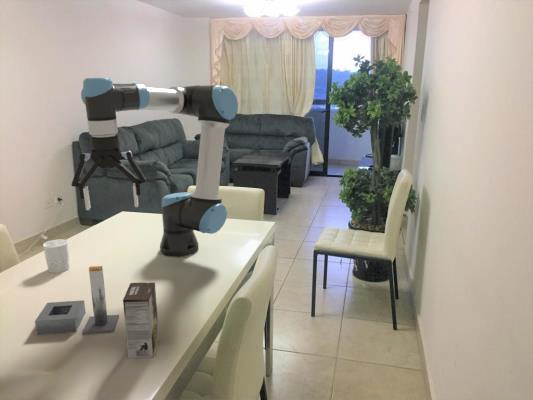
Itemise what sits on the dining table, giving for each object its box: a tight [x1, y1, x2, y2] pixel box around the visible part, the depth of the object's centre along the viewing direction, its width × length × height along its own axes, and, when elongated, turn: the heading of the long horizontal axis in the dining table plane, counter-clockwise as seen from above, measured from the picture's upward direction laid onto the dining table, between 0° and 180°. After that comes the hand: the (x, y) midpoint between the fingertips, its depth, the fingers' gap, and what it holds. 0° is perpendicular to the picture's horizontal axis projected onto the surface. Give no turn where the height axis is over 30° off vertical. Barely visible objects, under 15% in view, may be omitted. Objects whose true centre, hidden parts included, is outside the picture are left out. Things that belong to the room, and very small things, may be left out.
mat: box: [82, 314, 120, 335], centre depth 120 cm, size 8×8×1 cm
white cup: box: [42, 238, 70, 274], centre depth 154 cm, size 8×8×10 cm
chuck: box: [34, 299, 86, 335], centre depth 121 cm, size 10×10×4 cm
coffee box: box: [122, 281, 160, 359], centre depth 108 cm, size 9×6×16 cm
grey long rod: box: [88, 265, 108, 326], centre depth 118 cm, size 3×3×17 cm
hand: (112, 207), depth 127 cm, fingers open, 13 cm apart
